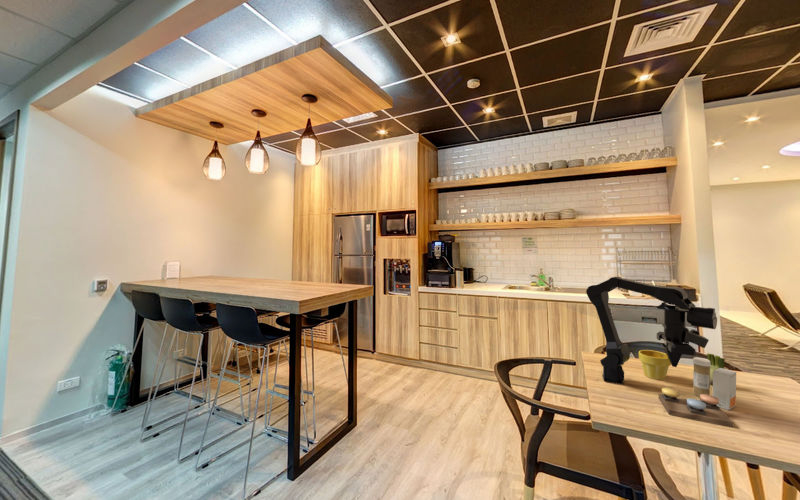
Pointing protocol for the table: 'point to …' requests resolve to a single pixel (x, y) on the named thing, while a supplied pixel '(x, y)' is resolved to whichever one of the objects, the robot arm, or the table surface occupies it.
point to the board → (694, 411)
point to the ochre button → (670, 392)
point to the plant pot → (654, 364)
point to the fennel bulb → (715, 364)
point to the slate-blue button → (696, 404)
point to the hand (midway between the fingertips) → (674, 366)
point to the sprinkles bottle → (701, 376)
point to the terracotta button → (709, 399)
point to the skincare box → (724, 388)
